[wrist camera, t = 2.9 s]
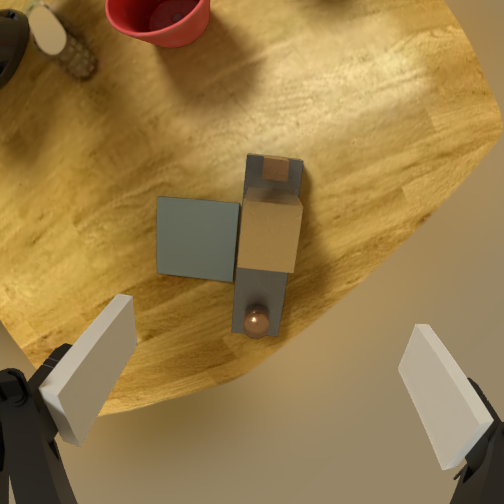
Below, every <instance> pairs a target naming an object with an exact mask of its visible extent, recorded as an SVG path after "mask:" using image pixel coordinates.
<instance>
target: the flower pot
mask: <svg viewBox="0 0 504 504" xmlns="http://www.w3.org/2000/svg"><path fill="white" fill-rule="evenodd" d="M105 12H106V16H107V19H108V20H109V22H110V24H111V25H112V26H113V27H114V28H115V29H116V30H118V31H119V32H121V33H123V34H125V35H128V36H130V37H133V38H136V39H139V40H142V41H146V42H149V43H152V44H155V45H159V46H163V47H167V48H177V47H182V46H185V45H188V44H190V43H192V42H193V41H195V40H196V39H197V38H199V37H200V36H201V35H202V33H203V32H204V31H205V29H206V27H207V25H208V22H209V13H210V0H106V2H105Z"/></svg>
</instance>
